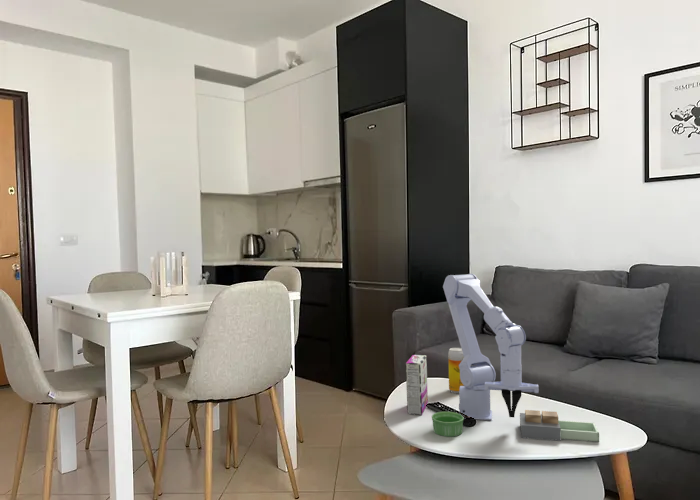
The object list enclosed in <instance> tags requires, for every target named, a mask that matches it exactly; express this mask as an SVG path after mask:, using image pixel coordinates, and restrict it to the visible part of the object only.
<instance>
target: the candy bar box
mask: <svg viewBox="0 0 700 500" xmlns="http://www.w3.org/2000/svg"><path fill="white" fill-rule="evenodd" d="M427 363H428V362H427V355H425V354H424V355H422V354H412V355H411V357H410V358H409V359H408V360H407V361H406V362H405V380H406V381H405V382H406V405H407V406H406V409H407V410H406V412H407V415H414V414H415V415H416V416H419V415H420V416H422V415H423V413H424V412H425V409H426V408H427V406H428V405H427V403H428V404H429V400H428V399H429V397H428V366H427ZM426 405H427V406H426Z"/></svg>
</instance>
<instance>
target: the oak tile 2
mask: <svg viewBox="0 0 700 500" xmlns="http://www.w3.org/2000/svg"><path fill="white" fill-rule="evenodd" d="M541 414H542V421H543V423H552V424H558V420H559V413H558V412H557V411H552V410H551V411H550V410H549V411H548V410H547V411H546V410H541Z"/></svg>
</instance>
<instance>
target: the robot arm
mask: <svg viewBox="0 0 700 500" xmlns="http://www.w3.org/2000/svg"><path fill="white" fill-rule="evenodd" d="M442 288H443V291H444V295H445V298H446V303H448V308H449V311H450V315H451V317H452V321H453V325H454V327H455V330H456V331H455V332H456V334H457V338H458V341H459V345H460V348H461V349H462V352H463V355H464V359H463V360H462V361H461V363H460V364H459V368H460V379H461V382H462V383H463V385H464V386H460V390H459V393H458V394H459V395H458V396H459V397H458V399H459V404H458V410H459V413H460V412H461V413H463V414H465V415H467V416H470V417H472V418H474V419H473V420H483V421H492V420H493V411H492V409H491V391H501V395H502V398H503V400H504V403H505V405H506V407H507V411H508V417H509V418H515V414H516V410H517V407H518V403H519V402H520V399H522V392H525V393H534V394H539V391H540V389H539V387H540V386H539V384H538V383H537V384H533V383H527V382H522V381H523V380H522V379H523V376H522V375H523V374H522V371H523V370H522V346H523V345H524V344H525V343H526V340H527V335H526V332H525V330H524V328H523V326H521V325H519V324H516V323H513V321H511V320H510V318H509V317H508V316H507V315H506V313H505V312H504V310H503V309H502V307H499V306H495V305H493V304H492V302H491V300H490V299H489V297H488V296H487V294H486V293H485V292H484V290H483V289H482V286H481V280H480V279H479V278H478V277H477V275H476V274H474V273H468V274H455V275H454V274H450V275H449V274H448V275H447V276H446V277H445V279H444V282H443V285H442ZM470 301H472V302H473V303H474V304H475V305H476V307H477V308H479V310H480V311H482V313H483V320H484V322H485V323H486V324H487V326H489V328H490V329H491V331H493V333H494V334H495V337H494V338H495V341H496V344H497V346H498V347H497V348H498V352H499V353H500V355H499V357H500V358H499V359H500V363H499V364H500V381H496V378H497V377H496V376H497V374H496V370H495V368H494V366H493V365H492V363H491V361H490V358H489V357H487V356H486V355H484V354H483V353H482V351H481V349H480V346H479V342H478V339H477V335H476V333H475V329H474V327H473V323H472V319H471V317H470V316H471V315H470V313H469V310H468V306H467V305H468V303H469V302H470Z"/></svg>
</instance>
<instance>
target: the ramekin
mask: <svg viewBox="0 0 700 500" xmlns="http://www.w3.org/2000/svg"><path fill="white" fill-rule="evenodd" d="M464 420H465V418H464V417H463V416H462V415H461V414H460V413H457V412H455V411H454V412H453V411H438V412H435V413H433V414H432V415H431V421H432V426H433V432H434V433H435V434H436V435H438V436H440V437H447V438H450V437H451V438H452V437H453V438H454V437H457V436H461V435H462V433H463V426H464V424H463V423H464Z"/></svg>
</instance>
